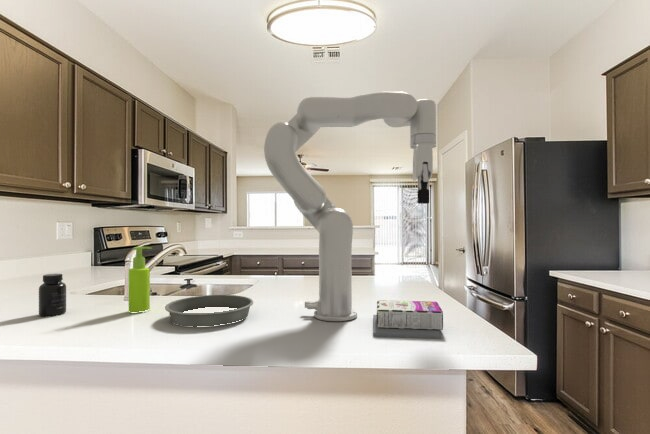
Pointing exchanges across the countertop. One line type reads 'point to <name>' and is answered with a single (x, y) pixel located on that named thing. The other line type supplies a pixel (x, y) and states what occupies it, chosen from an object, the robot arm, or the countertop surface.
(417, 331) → the mat
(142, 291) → the soap dispenser
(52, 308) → the supplement bottle
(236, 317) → the baking ring
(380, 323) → the candy bar box
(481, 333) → the countertop surface
